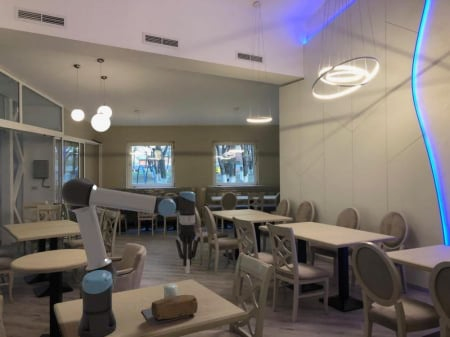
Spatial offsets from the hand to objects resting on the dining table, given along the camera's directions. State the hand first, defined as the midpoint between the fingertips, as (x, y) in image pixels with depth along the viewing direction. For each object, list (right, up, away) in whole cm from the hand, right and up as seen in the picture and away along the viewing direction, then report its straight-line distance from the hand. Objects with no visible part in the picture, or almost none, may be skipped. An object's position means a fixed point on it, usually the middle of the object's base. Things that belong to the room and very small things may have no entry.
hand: (187, 272), depth 163 cm
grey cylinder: (-9, -18, +10) cm, 22 cm away
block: (+4, -14, -2) cm, 14 cm away
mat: (-10, -18, -5) cm, 21 cm away
